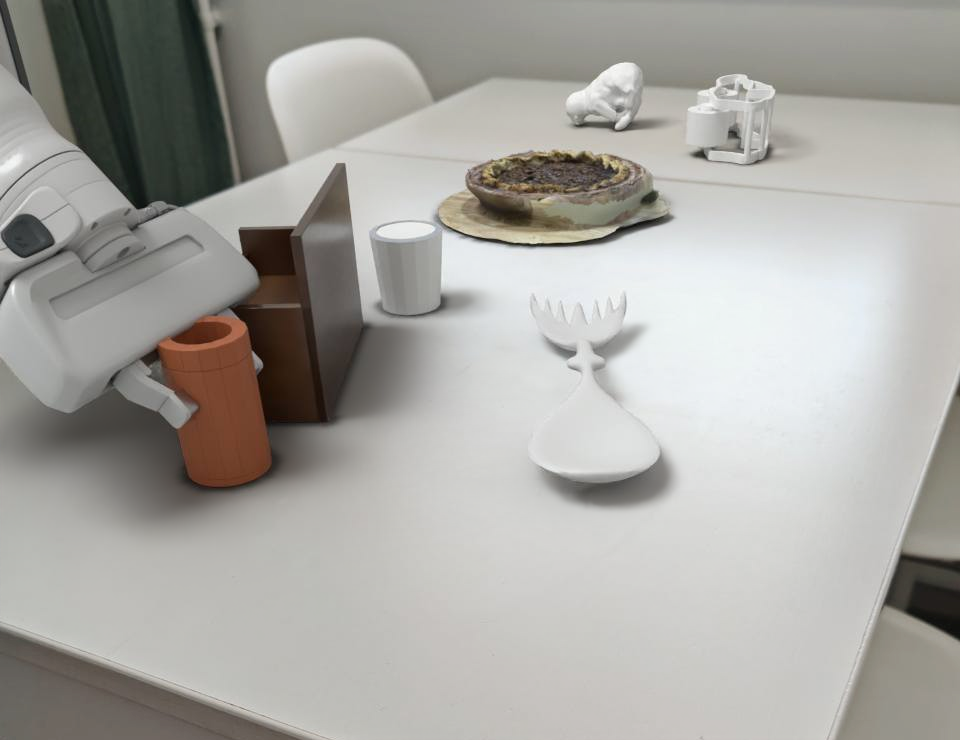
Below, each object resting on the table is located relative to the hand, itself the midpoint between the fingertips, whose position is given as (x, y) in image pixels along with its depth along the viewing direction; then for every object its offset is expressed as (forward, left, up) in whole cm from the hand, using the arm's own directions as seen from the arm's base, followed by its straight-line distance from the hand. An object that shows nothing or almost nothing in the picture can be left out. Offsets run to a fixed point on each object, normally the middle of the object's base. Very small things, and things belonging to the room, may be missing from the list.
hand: (222, 397), depth 69 cm
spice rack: (0, +17, -5) cm, 18 cm away
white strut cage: (+48, +92, -6) cm, 104 cm away
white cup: (+9, +32, -6) cm, 34 cm away
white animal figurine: (+31, +107, -6) cm, 112 cm away
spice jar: (-1, 0, -5) cm, 6 cm away
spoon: (+25, +10, -6) cm, 28 cm away
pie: (+23, +63, -6) cm, 68 cm away
